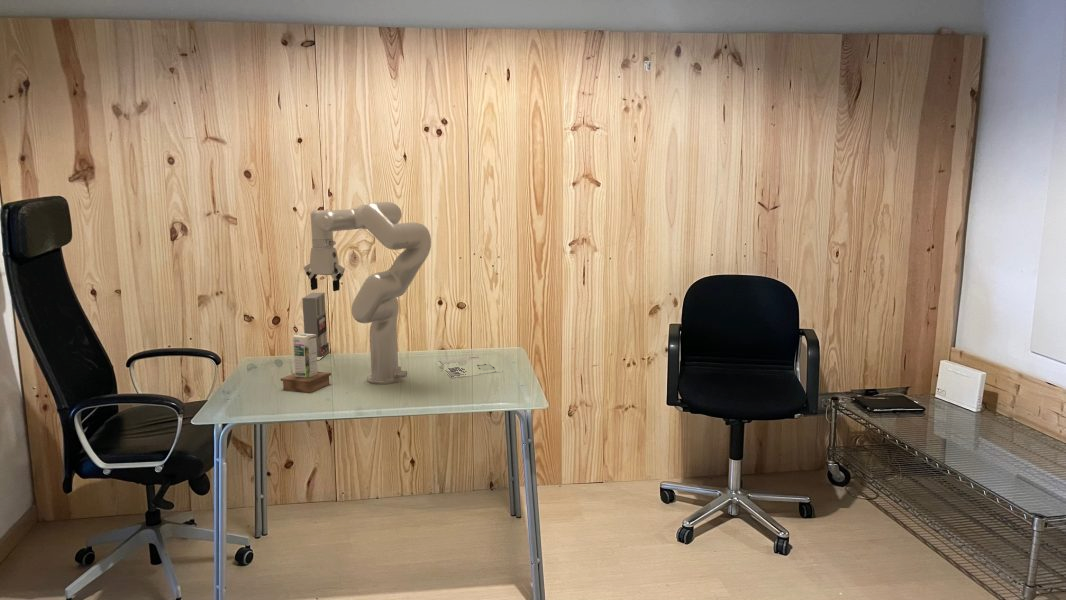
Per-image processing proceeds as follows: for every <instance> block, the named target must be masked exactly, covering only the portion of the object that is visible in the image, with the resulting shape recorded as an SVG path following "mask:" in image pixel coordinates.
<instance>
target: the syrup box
mask: <svg viewBox="0 0 1066 600" xmlns="http://www.w3.org/2000/svg"><path fill="white" fill-rule="evenodd" d="M292 341H293V354H294V355H293V358H294V373H295V377H304V378H310V377H312V376H315V375H317V374H318V372H319V369H318V360H317V345H316V334H304V333H297V334H295V335H293V336H292Z"/></svg>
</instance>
